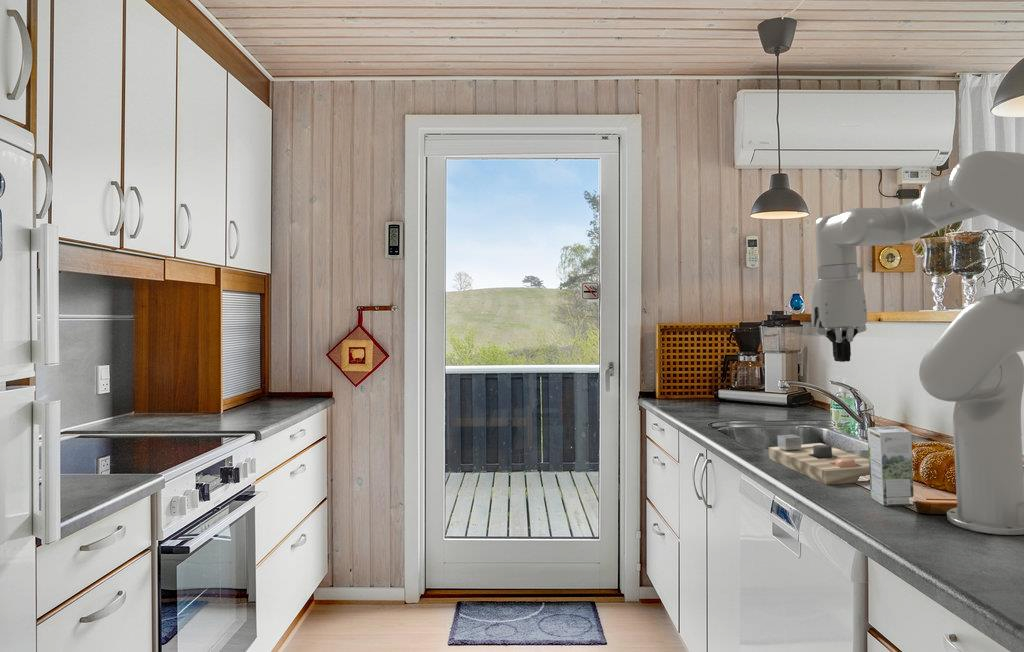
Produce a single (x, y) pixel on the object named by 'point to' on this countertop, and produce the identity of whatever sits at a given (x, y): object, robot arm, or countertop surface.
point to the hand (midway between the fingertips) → (842, 360)
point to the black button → (822, 451)
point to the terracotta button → (844, 462)
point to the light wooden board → (821, 464)
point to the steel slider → (789, 442)
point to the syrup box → (890, 465)
